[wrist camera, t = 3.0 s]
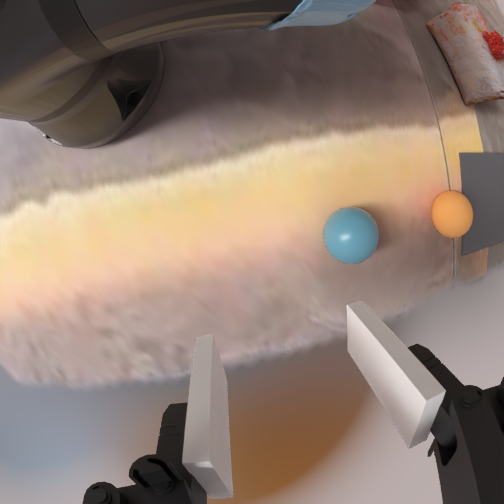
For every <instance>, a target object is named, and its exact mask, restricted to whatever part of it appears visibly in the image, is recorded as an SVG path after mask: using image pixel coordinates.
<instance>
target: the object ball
mask: <svg viewBox="0 0 504 504" xmlns="http://www.w3.org/2000/svg"><path fill="white" fill-rule="evenodd" d="M431 216H432V221H433V224H434V226H435V227H436V229H437V230H438V231H439V232H440V233H441V234H442V235H444V236H446V237H450V238H457V237H460V236H462V235H464V234H465V233H466V232H467V231H468V230H469V228H470V227H471V224H472V221H473V210H472V206H471V204H470V202H469V200H468V199H467V198H466V197H465V196H464V195H463V194H461V193H459V192H457V191H445V192H443V193H441V194H440V195H439V196H438V197H437V198H436V199H435V201H434V203H433V205H432V210H431Z"/></svg>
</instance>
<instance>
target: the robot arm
mask: <svg viewBox="0 0 504 504" xmlns="http://www.w3.org/2000/svg"><path fill="white" fill-rule="evenodd" d="M376 1H377V0H0V118H3V119H11V120H18V121H26V122H29V123H30V124H31V125H33V126H35V127H36V128H37V129H38V131H39V132H40V133H41V134H42V135H43V136H44V137H45V138H46V139H48V140H49V141H51V142H53V143H55V144H57V145H60V146H63V147H70V148H81V149H85V148H93V147H98V146H101V145H104V144H106V143H109V142H111V141H113V140H115V139H117V138H118V137H120V136H121V135H123V134H124V133H126V132H127V131H128V130H129V129H131V128H132V127H133V126H134V125H135V124H136V123H137V122H138V121H139V120H140V119H141V118H142V117H143V115H144V114H145V113H146V112H147V110H148V109H149V107H150V106H151V104H152V103H153V101H154V99H155V97H156V95H157V93H158V91H159V88H160V85H161V82H162V78H163V72H164V56H163V51H162V47H161V45H160V43H159V42H162V41H166V40H171V39H175V38H180V37H185V36H191V35H196V34H202V33H209V32H216V31H224V30H235V29H250V28H257V29H258V30H275V29H278V28H281V27H286V26H327V25H334V24H338V23H342V22H345V21H347V20H350V19H351V18H353V17H354V16H356V15H357V14H358V13H359V12H360V11H362V10H365V9H367V8H369V7H370V6H371V5H372V4H373V3H374V2H376ZM347 332H348V352H349V354H350V355H351V357H352V358H353V360H354V361H355V363H356V365H357V366H358V368H359V369H360V371H361V372H362V374H363V375H364V377H365V379H366V380H367V382H368V383H369V385H370V387H371V388H372V390H373V391H374V393H375V394H376V396H377V398H378V399H379V401H380V402H381V404H382V406H383V407H384V409H385V410H386V412H387V414H388V415H389V417H390V419H391V420H392V422H393V423H394V425H395V427H396V428H397V430H398V432H399V433H400V435H401V436H402V438H403V440H404V441H405V443H406V445H407V446H408V448H411V447H413V446H415V445H417V444H419V443H421V442H423V441H425V440H426V439H427V437H428V435H429V433H430V431H431V432H432V434H433V435H434V437H435V439H434V441H433V443H432V445H431V447H430V449H429V451H428V457H429V456H431V454H432V452H433V451H434V453H435V454H434V455H435V458H436V463H437V468H438V473H439V479H440V485H441V492H442V499H443V504H504V377H503V379H502V381H501V384H500V385H498V386H495V387H492V388H488V389H485V390H482V389H480V388H479V387H477V386H473V385H466V386H464V385H463V384H462V383H461V382H460V381H459V380H458V379H457V378H456V377H455V376H454V375H453V374H452V373H451V372H450V371H449V370H448V369H447V368H446V367H445V365H443V364H441V362H440V360H439V359H438V358H435V355H433V353H432V352H431V351H430V350H429V349H427V348H425V347H423V346H421V345H419V344H415V345H413V346H410V347H408V348H407V347H406V346H405V345H404V344H403V343H402V342H401V341H400V340H399V339H398V337H397V336H396V335H395V334H394V333H393V332H392V331H391V330H390V329H389V328H388V327H387V326H386V325H385V324H384V323H383V322H382V321H381V320H380V318H379V317H378V316H377V315H376V314H375V313H374V312H373V311H372V310H371V309H370V308H369V307H368V306H367V305H366V304H365V303H364V302H363V301H362V300H360V301H356V302H353V303H349V304H347ZM129 477H130V478H131V479H132V480H133V481H134V482H135V483H136V484H135V485H131V486H126V487H121V488H116V487H115V486H113V485H112V484H110V483H107V482H97V483H95V484H93V485H91V486H90V487H89V488H88V489H87V490H86V493H85V495H84V500H83V504H207V495H208V496H209V497H210V498H211V499H219V498H231V497H233V484H232V470H231V455H230V437H229V419H228V396H227V378H226V375H225V372H224V369H223V365H222V362H221V359H220V356H219V353H218V349H217V346H216V343H215V340H214V336H213V334H209V335H203V336H197V337H196V341H195V348H194V356H193V364H192V372H191V380H190V388H189V397H188V403H178V404H170V405H169V406H168V408H167V409H166V411H165V412H164V414H163V417H162V423H161V428H160V436H159V439H158V445H157V451H156V454H154V455H146V456H143V457H141V458H139V459H138V460H136V461H135V462H134V463H133V464H132V466H131V468H130V470H129Z"/></svg>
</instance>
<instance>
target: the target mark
mask: <svg viewBox="0 0 504 504" xmlns="http://www.w3.org/2000/svg"><path fill="white" fill-rule="evenodd" d="M459 156H460V166H461V178H462V194H463V195H464V196H465V197H466V198H467V199H468V200H469V202H470V204H471V206H472V210H473V221H472V224H471V227H470V228H469V230H468V231H467V232H466V233H465V234H464V235H463V238H462V256H463V255H466V254H469V253H472V252H475V251H477V250H480V249H483V248H486V247H489V246H491V245H494V244H497V243H499V242H502V241H504V153H459Z"/></svg>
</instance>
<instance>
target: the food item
mask: <svg viewBox="0 0 504 504" xmlns="http://www.w3.org/2000/svg"><path fill="white" fill-rule="evenodd" d="M426 25H427V27H428V29H429V30H430V32H431V33H432V35H433V37H434V38H435V40H436V41H437V43H438V45H439V46H440V48H441V50H442V53H443V54H444V56H445V58H446V60H447V62H448V64H449V66H450V69H451V71H452V73H453V76H454V78H455V80H456V82H457V84H458V87H459V89H460V92H461V94H462V97H463V100H464V102H465V105H468V104H469V105H470V104H472V103H478V102H481V103H482V102H484V101H488V100H496V99H504V42H503V37H501V36H500V35H499V34H498V33H497V32H496V31H494V32H493V30H492V28H491V27H490V25H489V24H488V23H487V22H486V20H485V19H484V17H483V15H482V14H481V12H480V10H479V9H478V8H477V7H475V6H472V5H470V4H467V3H460V2H456V3H454V4H453V5H452V6H451V7H450V8H449V9H448V11H446V12H444V13H441V14H439V15H437V16H435V17H434V18H432V19H431V20H429V21H428V22H427V23H426ZM478 104H479V103H478Z"/></svg>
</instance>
